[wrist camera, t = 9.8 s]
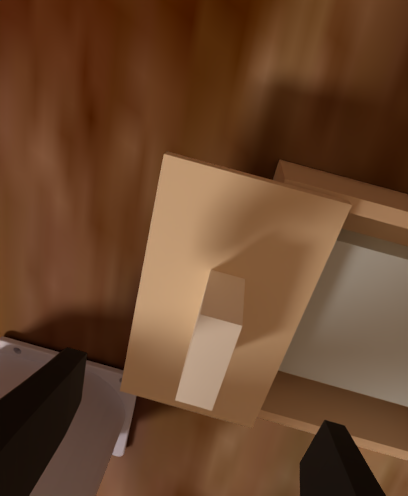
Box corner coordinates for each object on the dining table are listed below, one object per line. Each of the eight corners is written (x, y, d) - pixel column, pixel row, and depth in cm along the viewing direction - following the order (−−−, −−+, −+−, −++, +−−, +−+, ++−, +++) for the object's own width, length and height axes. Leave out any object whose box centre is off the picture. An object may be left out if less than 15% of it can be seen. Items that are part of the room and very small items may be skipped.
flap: (123, 383, 18) (94, 447, 15) (167, 151, 13) (138, 174, 10) (252, 419, 18) (251, 492, 15) (348, 200, 13) (378, 239, 10)
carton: (214, 354, 21) (206, 403, 18) (279, 159, 16) (284, 178, 13) (442, 419, 21) (475, 479, 18) (583, 241, 16) (666, 282, 13)
